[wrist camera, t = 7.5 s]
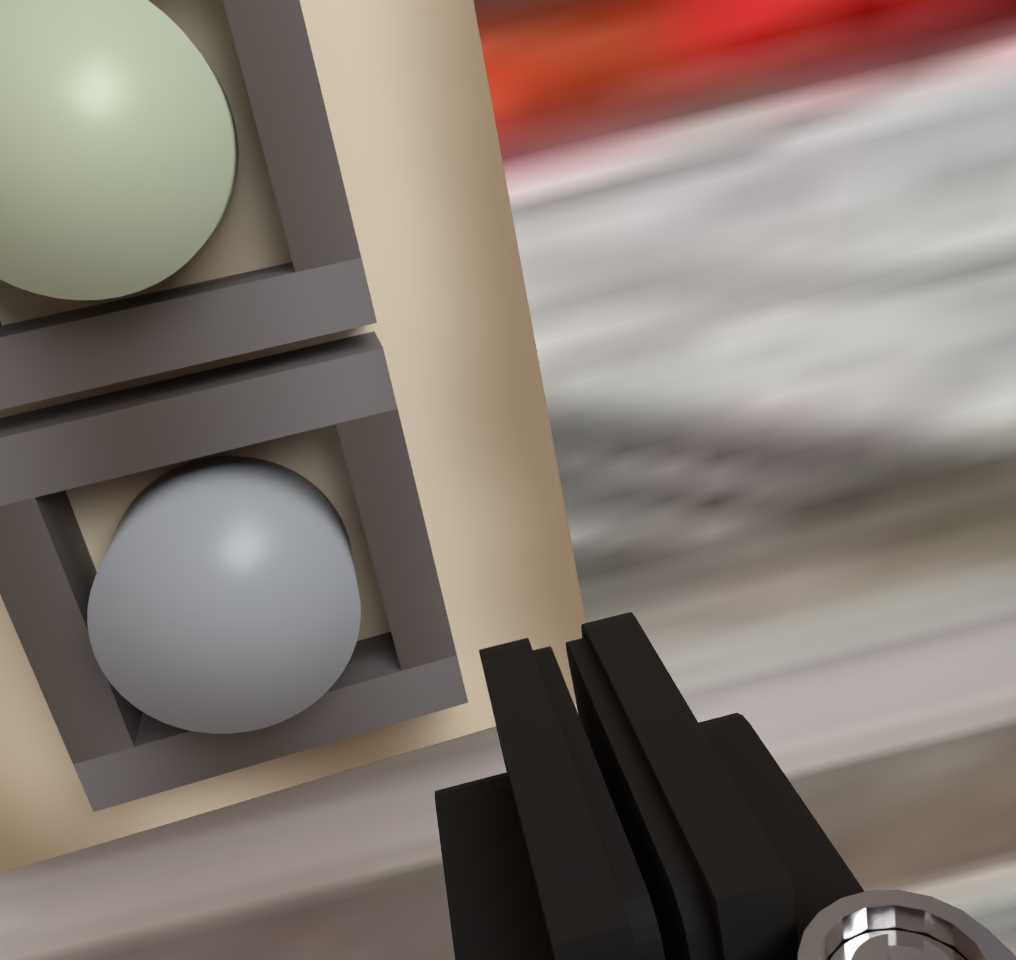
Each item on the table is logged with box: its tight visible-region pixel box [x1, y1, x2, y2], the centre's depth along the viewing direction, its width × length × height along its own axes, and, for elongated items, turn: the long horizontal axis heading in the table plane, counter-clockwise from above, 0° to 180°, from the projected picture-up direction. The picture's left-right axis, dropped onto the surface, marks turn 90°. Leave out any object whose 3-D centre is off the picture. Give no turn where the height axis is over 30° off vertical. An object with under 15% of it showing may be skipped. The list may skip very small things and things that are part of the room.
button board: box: [0, 0, 586, 874], centre depth 15 cm, size 12×24×4 cm, turn 11°
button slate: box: [87, 456, 361, 734], centre depth 16 cm, size 4×4×2 cm
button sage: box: [0, 0, 239, 300], centre depth 13 cm, size 4×4×2 cm
